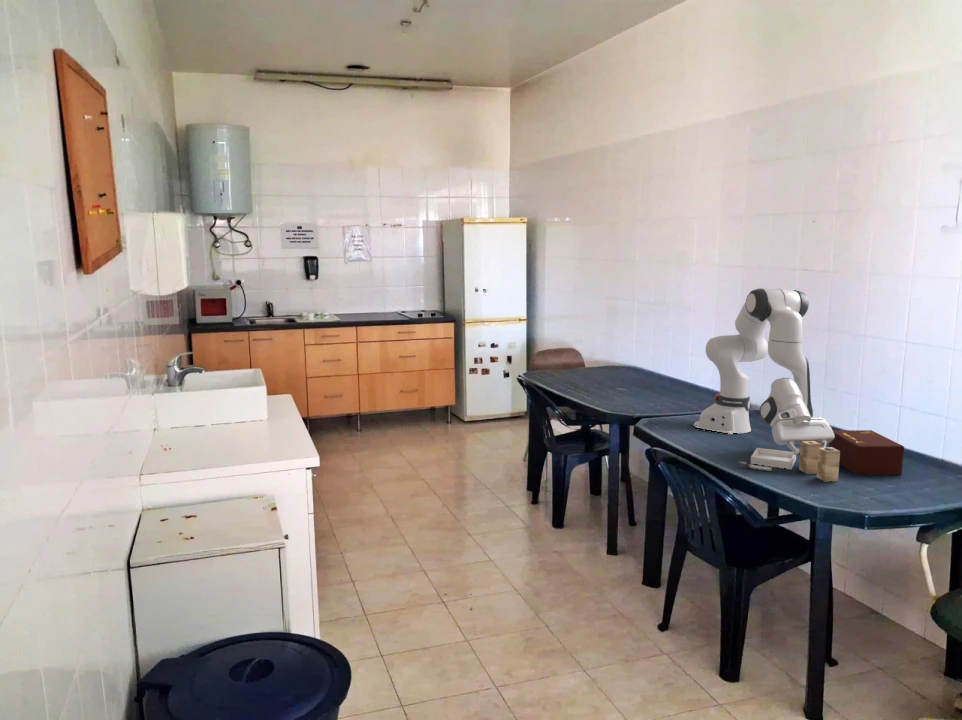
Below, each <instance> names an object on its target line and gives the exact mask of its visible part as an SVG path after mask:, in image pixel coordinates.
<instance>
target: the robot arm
mask: <svg viewBox="0 0 962 720" xmlns="http://www.w3.org/2000/svg"><path fill="white" fill-rule="evenodd" d="M809 302H810V301H809V298H808V296H807V295H806V293H805V292H803V291H800V290H796V289H795V290H791V289H786V288H767V287H759V288H758V287H757V288H756V289H752V290H750V292H749V293H748V294H747V296H746V299H745V302H744V304H743V306H742V307H741V309H740V311H739V312H738V315H737V317H736V319H735V321H734V326H735V329H736V331H737V333H738V334H733V335H732V334H730V335H729V334H728V335H719V336H716V337H712V338H709V339H708V340H707V342H706V345H705V355H706V357H707V358H708V360H709V361H711V362H712V363H713V364H714V365H715V366H716V368H717V371H718V373H719V378H720V381H719V383H720V389H719V390H720V391H719V393H717V394H716V393H715V396H714V403H713V404H711V405H710V406H708V407H706V408H704V410H703V411H701V414H700V416H699V420H696V421H695V422H694V423H693V426H695V425H697V426H695V427H697V428H702V429H707V430H712V431H717V432H723V433H728V434H727V435H734V434H733V433H737V434H748V433H749V432H751V431H752V427H751V423H750V416H749V411H750V406H751V398H750V377H749V375H748V374H746V373H745V372H743V371H742V370H741V369H740V366H739V363H749V362H756V361H760V360H763V359H764V358H766V357H767V356H766V355H767V354H768V356H769V358H770V359H771V361H773V362H774V363H775V364H777V365H779V366H780V367H783V368H785V369H786V370H788V371H789V372H790V373H791V375H792V376H793V378H791V377H781V378H777V379H775V380H774V381H772V382H771V385H770V393H769V395H768V397H767V398H766V399H765V400H764V401H763V402H762V403H761V405H760V406H759V415H760V418H761V420H762V422H763V423H764V424H766V425H767V426H770V427H771V435H772V437H773V441H774V443H776V444H777V445H778V446H783V445H785V446H787V448H788V449H789V450H790V451H791V452H793V453H794V455H796V456H800V453H801V452H800V448H797V447H796V446H795V445H801V441H816V442H818V443H820V444H821V448H827V444H829V443H830V442H831V441H832V440H833V439H834V437H835V435H834V433H833V431H832V430H833V429H832V427H831V426H830V424H829V422H828V420H826V419H825V418H822V417H813V416H814V411H813V410H814V409H813V406H812V405H813V404H812V399H811V396H812V395H811V376H810V375H811V374H810V372H811V371H810V362H809V360H808V358H807V357H806V356H805V355H804V353H803V346H802V345H803V335H804V333H803V331H804V329H803V327H804V326H803V317H804V316H805V315H806V314H807V312H808V309H809V306H810V303H809ZM768 324H769V325H770V328H769V335H768V341H767V340H766V338H765V337H763V334H764V331H765V329H766V327H767V325H768ZM717 432H716V433H717ZM723 433H722V434H723Z"/></svg>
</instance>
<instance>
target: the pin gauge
mask: <svg viewBox="0 0 962 720" xmlns="http://www.w3.org/2000/svg"><path fill="white" fill-rule="evenodd" d="M739 467H742V468H741V469H743V468H746V469H748V468H751V469H750V470H756V469H758V470H757V471H763V470H765V471H764V472H770V471H773V467H769V466H762V465H754V464H751V463H750V464H748V461H747V462H746V461H739V462H738V468H739Z"/></svg>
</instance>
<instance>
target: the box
mask: <svg viewBox="0 0 962 720" xmlns="http://www.w3.org/2000/svg"><path fill="white" fill-rule="evenodd" d="M832 431H833V433H834V435H835V437H834V439H833V440H832V441H831V442H830V443H828V447H832V448H834V449H837V450H839V451H840V460H839V466H842V467H844V468H845V469H847V470H848V471H850V472H851V471H852V472H851V473H853V474H855V475H856V474H857V476H858V475H859V476H866V475H867V476H873V475H874V476H877V475H878V476H879V475H880V476H881V475H883V476H888V475H889V476H890V475H891V476H894V475H893V474H902V475H903V466H904V463H903V462H904V454H905V446H904V445H902V444H900V443H898V442H896V441H894V440H892V439H890V438H888V437H886V436H884V435H882V434H879V433H878V432H875V431H873V430H871V429H870V430H869V429H866V430H865V429H864V430H861V429H860V430H852V429H850V430H845V429H844V430H843V429H842V430H841V429H840V430H838V429H837V430H835V429H832Z"/></svg>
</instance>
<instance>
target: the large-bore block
mask: <svg viewBox="0 0 962 720" xmlns="http://www.w3.org/2000/svg"><path fill="white" fill-rule="evenodd" d="M839 460H840V451H839V450H837V449H834V448H832V447H829V446H828V447H827V446H826V448H822V447H821V448H819V454H818V468H817V473H816V478H817V479H819V480H821V481H822V480H823V482H824V483H825V482H830V481H832V482H838V481H839V471H840V470H839V469H840V464H839Z"/></svg>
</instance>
